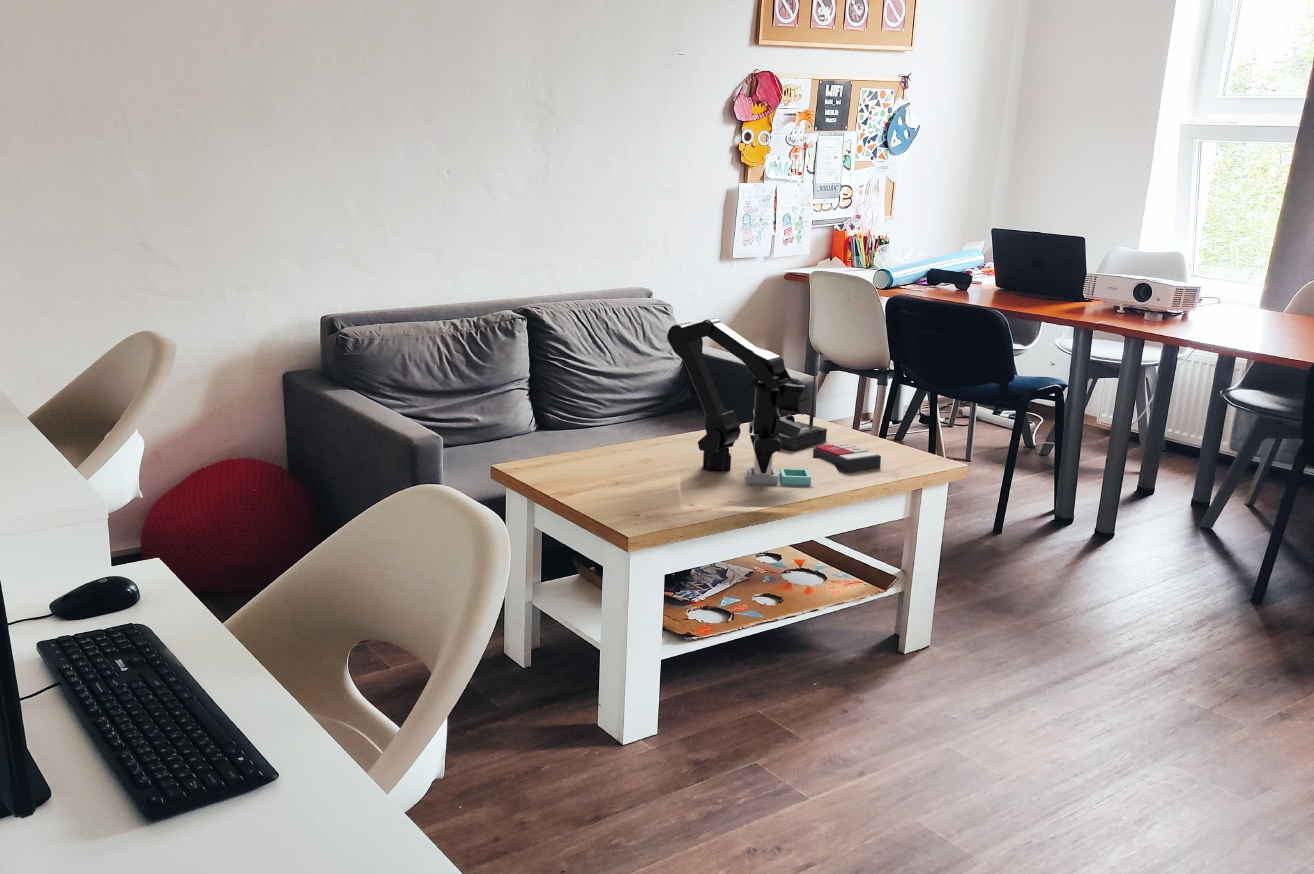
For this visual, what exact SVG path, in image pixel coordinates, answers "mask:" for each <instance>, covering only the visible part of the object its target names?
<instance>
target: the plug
mask: <svg viewBox="0 0 1314 874" xmlns="http://www.w3.org/2000/svg"><path fill="white" fill-rule="evenodd" d="M753 455H754V456H753V467H754V470H753V475H771V474H772V468H773V457H774V453H773V454H772V456H771V459H770V462H769V465H768V468H767V471H766V473H761V470H760V467H759V464H758V461H757V458H756V454H755V452H754V454H753Z"/></svg>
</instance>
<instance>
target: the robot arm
mask: <svg viewBox="0 0 1314 874" xmlns="http://www.w3.org/2000/svg"><path fill="white" fill-rule="evenodd" d="M705 337H708V338H709V339H711V340H712V341H713V342H715V343H716V344H717V345H719V346H720V347H722V348H723V349H725V350H726V351H727V352H729V353H730V354H731V355H733V356H735V357H736V358H737V359H739V360H740V361H741V362H742V363H743V364H744V365H745V367H746V369H747V371H748V372H749V373H750V374H751V375H752V376H753V377H754V378H753V379H752V380H751V381H750V382H749V383H748V384H747V387H748V388H752V389H753V388H754V389H755V393H754V408H753V410H752V411H753V420H751V421H750V423H748V433H749V434H750V436H749V438H750V440H751V444H752V447H753V448H752V449H753V451H754V453H755V454H756V458H757V461H758V464H759V467H760V470H761V473H766V471H767V468H768V465H769V462H770V459H771V456H772V454H773V455H774V454H775V453H776V452H777V453H780V452H781V451H782V449H781V441H780V439H779V438H778V437H777V436H779V433H781V434H783V435H786V436H788V437H791V439H794V440H796V439H797V437H798V435H799V432H800V430H801V426H800V425H799V424H798V423H797V422H798V421H795V416H794V415H792V414H797V415H802V416H804V415H806V414H807V413H808V412H809V411H808V410H810V406H811V396H810V393H809V392H808V391H807V389H808V386H806V385H804V384H793V383H794V381H793V379H792V378H791V376H790V374H789V372H788V371H787V370H788V369H787V368H786V365H785V361H784V358H782V356H780V355H778V354H776V353H774V352H772V351H770V350H767V349H763V348H761V347H757V346H755V345H754V344H753V343H751V342H749V341H748V340H747V339H745V338H744V337H742V336H741V335H739V333H737V332H736V331H734V330H732V329H731V328H730V327H728V326H726V325H725V324H724V323H722V321H721V320H720V319H718V318H707V319H704V320H703V321H700V322H697V323H694V322H691V321H690V322H683V323H679V324H678V323H677V324H674V325H672V326H671V327H669V328H668V332H667V334H666V340H667V342H668V344H669V345H670V347H671V349H672V351H673V353H675V354H676V355H677V356H678V357H679V359H681V360H682V361H683V363H684V365H685V367H686V370H687V372H688V374H689V377H690V379H691V383H692V385H693V387H694V389H695V392H696V395H697V396H698V399H699V401H700V404H701V407H702V408H703V411H704V414H705V415H704V416H705V418H704V428H705V429H704V430H705V433H706V434H705V435H704V436H703V437H702V438H700V440H698V441H697V446H698V449H699V451H702V470H703V471H707V472H711V473H713V472H714V473H722V472H729V471H731V468H732V467H731V465H732V453H730V448H733V447H734V444H735V442H736V441H738V440H739V437H740V434H741V427H740V426H742V423H740V422H739V420H738V417H737V416H738V415H737V413H736V411H735V410H731V411H729V410H728V409H727V408H726V407H725V406H724V403H723V402H722V400H721V397H720V394H719V392H718V390H717V386H716V385H715V382H714V379H713V378H712V377H713V376H712V375H711V372H710V369H709V368H708V365H707V363H706V360H705V358H704V355H703V345H704V341H703V338H705ZM775 379H776V380H775ZM779 410H780V411H781V412H785V413H788V414H787V415H785V417H784V416H781V414H780V413H779ZM789 413H790V414H789ZM791 413H792V414H791ZM752 433H753V434H752ZM772 435H775V436H772Z"/></svg>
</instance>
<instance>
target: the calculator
mask: <svg viewBox="0 0 1314 874" xmlns="http://www.w3.org/2000/svg"><path fill="white" fill-rule="evenodd" d="M812 458H813V459H821V460H822V459H823V460H825V461H828V462H829V463H832V464H833V465H834V467H835V468H836V469H837V470H839V471H841V472H844V473H846V474H852V473H857V472H864V471H865V472H866V471H871V470H872V471H873V470H878V469H880V470H881V460H882V456H881V454H879V453H877V452H876V453H875V452H873V451H869V450H868V449H865V448H862V447H860V446H857V445H853V444H850V443H847V442H842V443H841V442H840V443H832V444H825V445H824V444H822V445H816V446H815V447H813V450H812Z"/></svg>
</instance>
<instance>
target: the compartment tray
mask: <svg viewBox="0 0 1314 874" xmlns="http://www.w3.org/2000/svg"><path fill="white" fill-rule="evenodd" d="M753 470H754V466H753V467H752V466H751V467H750V466H747V468H746V472H744V479H745V483H746V486H749V487H751V486H752V487H754V486H756V487H778V488H779V487H781V488H783V487H784V488H785V487H787V488H808V489H809V488H814V485H813V483H812V476H811V473H810V472H809V470H808V469H807V468H791V467H790V468H788V467H785V468H784V467H783V468H781V467H779V473H777V470H776V468H775V467H772V474H771V475H753Z"/></svg>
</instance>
